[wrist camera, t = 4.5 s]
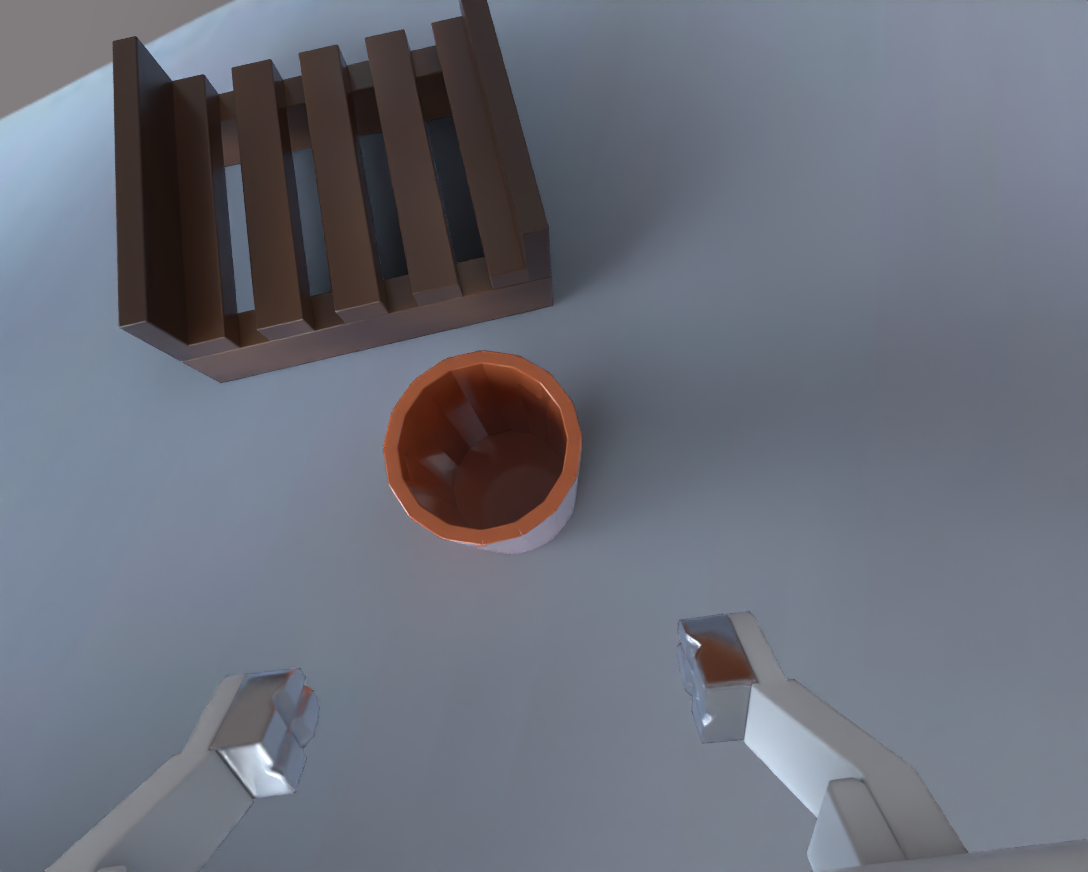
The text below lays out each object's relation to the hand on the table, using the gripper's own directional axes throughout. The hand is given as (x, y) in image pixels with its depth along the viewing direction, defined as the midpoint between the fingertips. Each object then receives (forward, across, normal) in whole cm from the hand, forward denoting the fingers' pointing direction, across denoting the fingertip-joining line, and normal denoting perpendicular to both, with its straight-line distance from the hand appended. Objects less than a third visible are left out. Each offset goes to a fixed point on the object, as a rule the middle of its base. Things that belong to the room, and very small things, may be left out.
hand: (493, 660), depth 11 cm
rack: (+20, +5, -7) cm, 21 cm away
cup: (+10, 0, +3) cm, 10 cm away
